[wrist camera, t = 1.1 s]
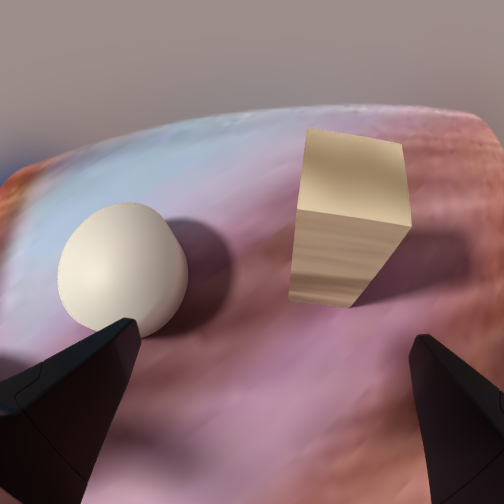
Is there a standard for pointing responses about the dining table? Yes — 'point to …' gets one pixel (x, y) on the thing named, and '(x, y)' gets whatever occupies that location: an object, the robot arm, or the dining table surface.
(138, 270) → the cream plinth
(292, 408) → the dining table surface
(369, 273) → the maple block
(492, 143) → the dining table surface
